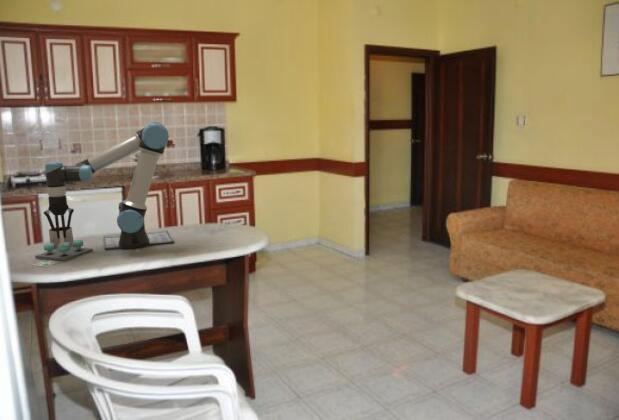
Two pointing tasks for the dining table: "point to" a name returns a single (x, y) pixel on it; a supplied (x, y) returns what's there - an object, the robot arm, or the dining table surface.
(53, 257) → the board
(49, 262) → the card
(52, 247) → the button
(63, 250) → the button
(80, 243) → the button
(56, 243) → the planter
